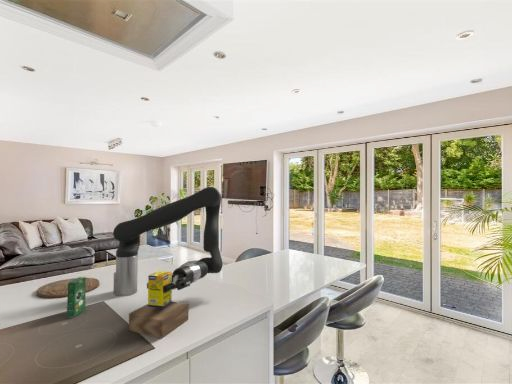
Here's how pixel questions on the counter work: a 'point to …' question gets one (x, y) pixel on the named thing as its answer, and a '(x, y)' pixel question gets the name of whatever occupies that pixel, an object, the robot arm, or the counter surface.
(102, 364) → the counter surface
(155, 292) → the supplement box
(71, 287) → the coffee box
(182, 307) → the walnut riser block
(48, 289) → the trivet
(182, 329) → the counter surface
